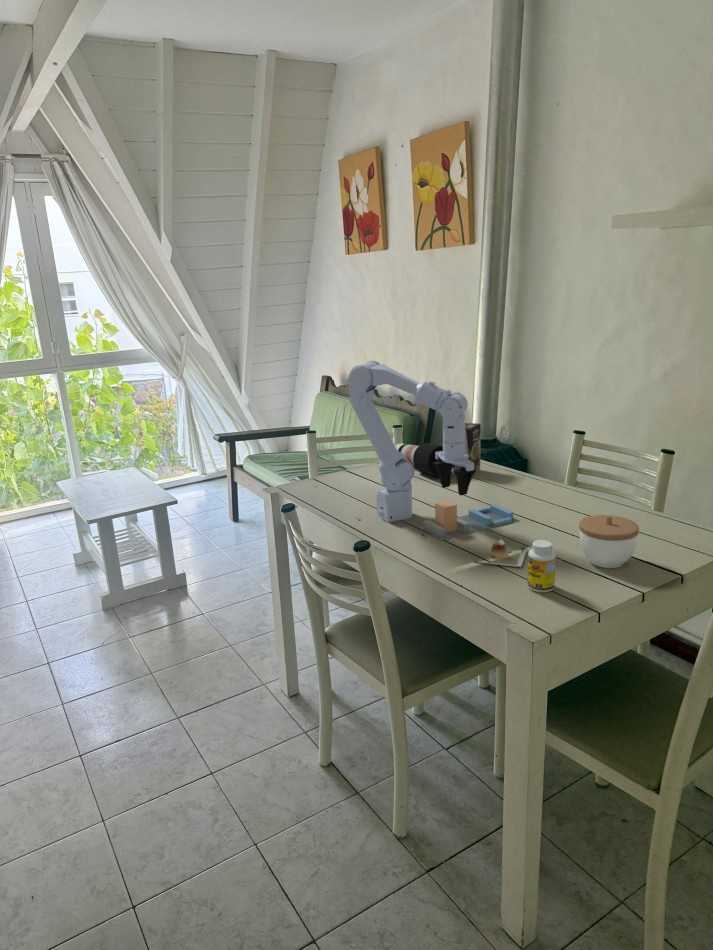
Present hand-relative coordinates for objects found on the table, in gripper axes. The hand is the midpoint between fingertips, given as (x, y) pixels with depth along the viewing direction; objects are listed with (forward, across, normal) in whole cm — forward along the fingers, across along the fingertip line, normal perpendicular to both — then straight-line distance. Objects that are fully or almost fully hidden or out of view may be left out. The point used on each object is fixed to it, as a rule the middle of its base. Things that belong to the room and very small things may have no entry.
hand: (454, 490), depth 177 cm
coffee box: (+10, +36, -31) cm, 48 cm away
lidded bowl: (+10, -39, -14) cm, 42 cm away
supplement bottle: (+10, -40, +7) cm, 42 cm away
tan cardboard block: (+9, -3, +5) cm, 11 cm away
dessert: (+10, -22, +3) cm, 25 cm away
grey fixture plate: (+10, -4, -2) cm, 10 cm away
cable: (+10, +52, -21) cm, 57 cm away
